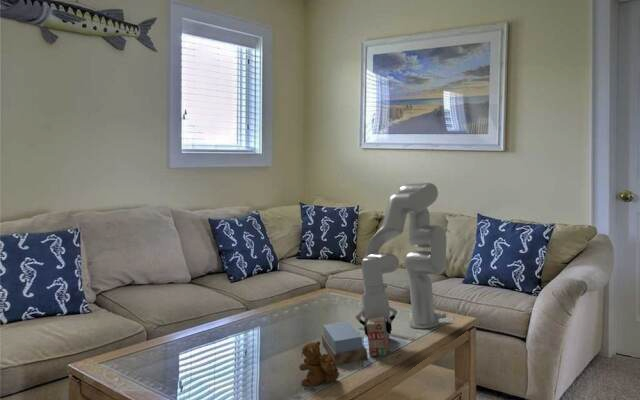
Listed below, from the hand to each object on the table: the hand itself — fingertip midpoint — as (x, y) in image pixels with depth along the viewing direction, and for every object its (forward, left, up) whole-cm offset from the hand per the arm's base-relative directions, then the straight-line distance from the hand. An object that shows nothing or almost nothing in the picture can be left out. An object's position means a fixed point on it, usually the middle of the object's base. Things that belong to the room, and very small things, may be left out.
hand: (378, 334), depth 219 cm
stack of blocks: (0, -1, -5) cm, 5 cm away
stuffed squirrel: (+27, +24, -5) cm, 37 cm away
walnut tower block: (+14, -1, -6) cm, 15 cm away
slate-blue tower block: (+14, -1, -1) cm, 14 cm away
